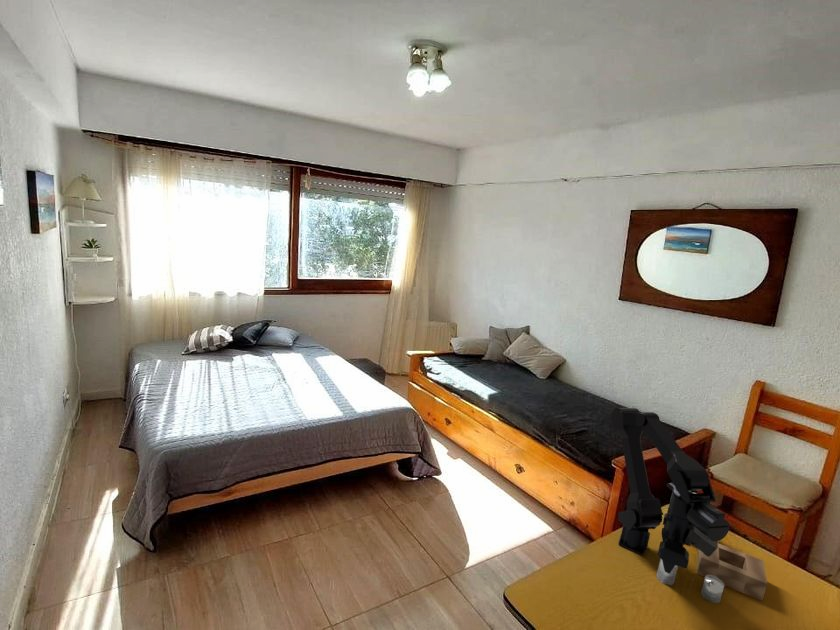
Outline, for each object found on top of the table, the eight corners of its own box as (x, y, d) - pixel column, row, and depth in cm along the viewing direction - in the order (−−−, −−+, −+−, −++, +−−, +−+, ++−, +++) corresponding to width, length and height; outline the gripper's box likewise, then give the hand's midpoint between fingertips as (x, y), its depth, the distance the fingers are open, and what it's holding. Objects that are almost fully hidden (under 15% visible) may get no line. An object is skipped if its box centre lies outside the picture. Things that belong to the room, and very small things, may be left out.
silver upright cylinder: (655, 579, 115) (663, 549, 113) (657, 570, 118) (664, 540, 116) (673, 587, 113) (681, 556, 111) (674, 578, 116) (682, 547, 114)
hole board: (697, 573, 118) (701, 557, 117) (697, 552, 127) (701, 536, 126) (762, 601, 111) (767, 583, 110) (758, 576, 120) (763, 560, 119)
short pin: (701, 597, 110) (705, 581, 109) (701, 587, 114) (705, 572, 113) (720, 606, 108) (724, 590, 107) (719, 595, 112) (724, 580, 111)
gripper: (720, 548, 100) (704, 608, 103) (718, 508, 115) (704, 561, 118) (664, 526, 105) (650, 583, 108) (669, 491, 121) (657, 542, 124)
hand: (667, 567), depth 115 cm, fingers closed on silver upright cylinder, 4 cm apart
